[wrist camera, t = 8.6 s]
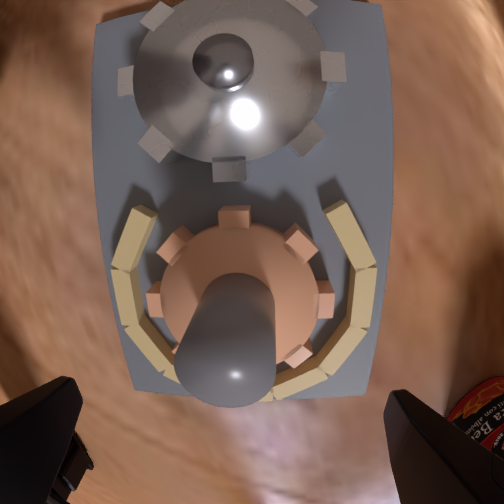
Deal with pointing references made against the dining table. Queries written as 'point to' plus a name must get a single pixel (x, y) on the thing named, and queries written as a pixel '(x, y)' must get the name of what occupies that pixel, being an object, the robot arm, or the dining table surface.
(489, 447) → the canned food
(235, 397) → the planet gear
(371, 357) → the carrier plate
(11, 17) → the dining table surface
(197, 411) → the dining table surface
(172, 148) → the sun gear
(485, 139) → the dining table surface
